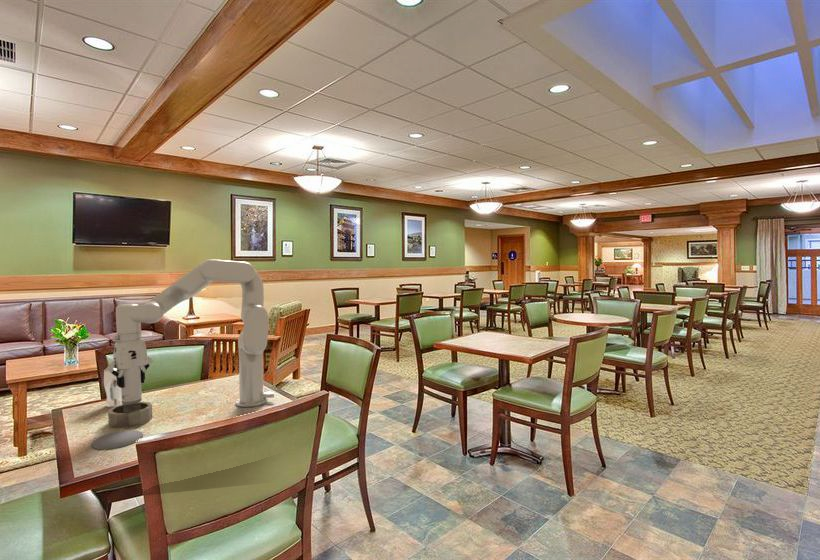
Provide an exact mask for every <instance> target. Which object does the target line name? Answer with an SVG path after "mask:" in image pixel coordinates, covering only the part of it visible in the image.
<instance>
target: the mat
mask: <svg viewBox="0 0 820 560" xmlns="http://www.w3.org/2000/svg"><path fill="white" fill-rule="evenodd" d="M141 437H142V438H143V437H144V434H143V431H140V430H136V429H131V430H130V429H125V430H119V431H115V432H114V431H113V432H109V433H106V434H103V435H100V436H99V437H97V438H96V439H93V441H92V443H91V447H92V446H93V447H94V449H95V448H98V449H97V450H102V449H105V450H114V449H113V448H115V449H119V448H124V447H127V446H130V445H132V444H135V443H136V442H135V441H136V440H137V439H139V438H141ZM142 438H141V439H142ZM93 447H92V448H93Z"/></svg>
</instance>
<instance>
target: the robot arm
mask: <svg viewBox="0 0 820 560" xmlns="http://www.w3.org/2000/svg"><path fill="white" fill-rule="evenodd" d="M213 282H217V283H218V282H220V283H236V284H237V283H238V284H240V286H241V293H242V294H241V295H242V296H241V299H242V300H241V309H240V310H241V311H240V318H241V321H242V323H243V330H241V332H240V333H239V335H238V337H237V338H238V339H237V347H238V361H239V362H238V363H239V364H238V367H239V369H238V371H239V372H238V373H239V374H238V375H239V377H238V378H239V380H238V381H239V384H238V385H239V398H237V399H236V400H235V405H236V406H237V407H242V408H250V407H259V406H261V405H264V404H266V403H267V402H268V399H272V398H275V392H272V391H266V389H265V388H264V351H265V350H266V348H267V346H268V339H269V322H270V321H269V320H270V319H269V313H268V311H267V309H266V308H265V307H264V299H265V298H264V297H265V296H264V295H265V294H264V292H265V290H264V283H263V280H262V278H261V276H260V274H259V273H258V272H257V270H256V269H255V267H254V266H253V265H252V264H251V263H249V262H248V261H240V260H239V261H236V260H225V259H224V260H223V259H222V260H221V259H214V258H208V259H205V260H203V261H202V262H201V263H199V264H197V265H196V266H195V267H193V268H192V269H191V270H189V271H188V272H187V273H184V275H183V276H181V277H179V278H178V279H177V280H175V281H174V282H172V283H171V285H169V286H168V287H167V288H165V289H164V290H162V291H160V293H158V294H157V295H155V296H154V297H152V298H151V299H150V300H148V301H147V302H146V303H144V304H138V303H122V304H118V305H117V306H116V307H115V320H116V321H115V322H116V324H115V325H116V334H115V336H114V335H113V336H112V340H113V341H116V342H115V344H114V348H113V357H112V359H113V360H112V361H111V363H110V364H109V365H108V366H107V367H106V368H105V369H106V370H107V371H108V372H110V373H111V374H113V375H114V376H116V378H117V386H118V387H120V388H124V377H122V375H123V372H124V370H126V369H130V368H131V367H132V362H131V361H132V360H131V358H132V357H131V354H132V353H133V352H132V353H128V351H131V350H132V351H135V353H137V355H136V356H134V357H136V358H137V359H136V360H137V367H140V370H141V384H144V383H145V381H146V372H147V370H148V369H149V367H150V365H151V364H152V363H153V362H154V359H153V358H151V357H150V356H148V352H147V346H146V342H145V339H144V338H142V323H143V324H156V323H158V322H159V321H161V320H162V319H163V318H164V315H165V314H167V312H169V311H170V310H172V309H173V308H174V307H176V306H177V305H178V304H180V303H183V302H185V301H187V300H189V299H191V298H193V297H194V296H196V295H197V294H198V293H200V292H201V291H202V290H203V289H205V288H206V287H208V286H210V285H211V284H212V283H213ZM136 360H135V361H136ZM113 368H117V371H115V370H113Z"/></svg>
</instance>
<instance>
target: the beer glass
mask: <svg viewBox="0 0 820 560" xmlns="http://www.w3.org/2000/svg"><path fill="white" fill-rule="evenodd" d="M113 370H115V371H117V368H114V367H113ZM103 385H104V391H105V394H106V401H105V407H106V408H113V407H115V406H118V405H121V404H122V396H121V388H120V387H118V386H117V378H116V376H114V375H113V374H111V373H110V372H108V371H107V370H106V368H105V369H104V370H103Z"/></svg>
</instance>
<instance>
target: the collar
mask: <svg viewBox="0 0 820 560" xmlns="http://www.w3.org/2000/svg"><path fill="white" fill-rule="evenodd" d="M107 414H108V416H107V417H108V418H107V421H108V422H107V424H108V426H109V428H114V429H125V428H127V429H128V428H133V427H137V425H138V426H141V425H144V424H146V423H148V422H150V421H151V420H152V419H153V404H152V403H151V402H148V401H140V402H138V403H135V404H129V405H124V404H121V405H118V406H115V407H110V409H109V410H107Z"/></svg>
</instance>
